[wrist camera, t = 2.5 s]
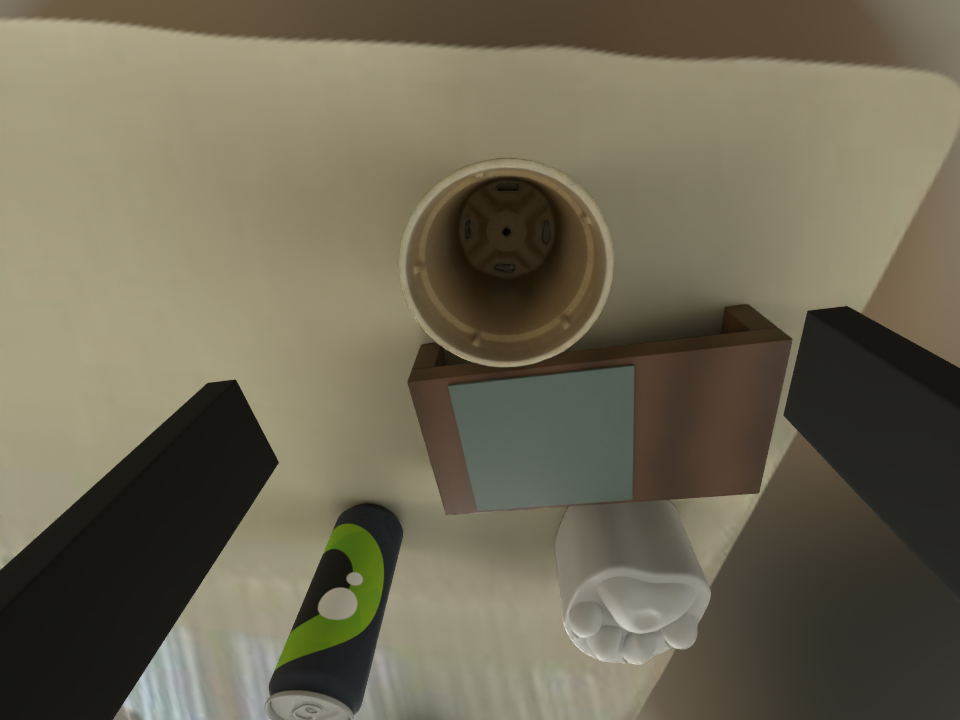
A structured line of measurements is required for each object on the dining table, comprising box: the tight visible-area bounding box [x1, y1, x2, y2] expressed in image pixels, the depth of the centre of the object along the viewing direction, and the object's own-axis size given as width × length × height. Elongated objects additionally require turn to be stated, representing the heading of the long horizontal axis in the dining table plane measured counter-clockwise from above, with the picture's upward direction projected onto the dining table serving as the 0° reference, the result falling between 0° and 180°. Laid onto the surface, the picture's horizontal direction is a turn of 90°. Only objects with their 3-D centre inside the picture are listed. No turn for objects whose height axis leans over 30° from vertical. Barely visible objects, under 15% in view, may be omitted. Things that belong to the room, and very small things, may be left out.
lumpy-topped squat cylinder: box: [555, 500, 711, 665], centre depth 36 cm, size 10×13×9 cm
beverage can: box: [264, 504, 403, 720], centre depth 34 cm, size 6×6×15 cm
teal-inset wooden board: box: [407, 305, 792, 515], centre depth 30 cm, size 22×12×5 cm, turn 99°
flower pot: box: [398, 158, 614, 367], centre depth 22 cm, size 9×9×9 cm
